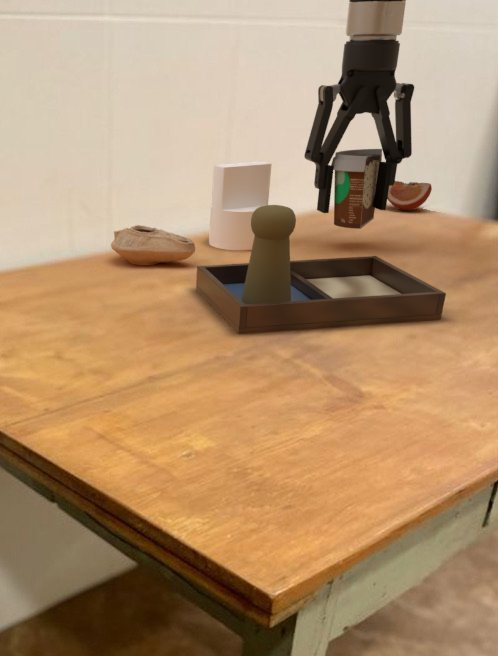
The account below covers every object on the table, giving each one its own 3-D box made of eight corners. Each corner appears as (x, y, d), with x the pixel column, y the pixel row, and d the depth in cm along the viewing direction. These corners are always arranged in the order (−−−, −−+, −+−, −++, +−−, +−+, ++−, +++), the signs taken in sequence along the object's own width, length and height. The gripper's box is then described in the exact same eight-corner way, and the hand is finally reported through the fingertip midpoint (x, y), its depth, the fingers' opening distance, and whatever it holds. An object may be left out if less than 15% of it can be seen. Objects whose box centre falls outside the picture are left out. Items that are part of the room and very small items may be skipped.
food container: (336, 216, 131) (342, 148, 127) (375, 217, 129) (382, 148, 124) (316, 228, 122) (322, 156, 117) (358, 230, 119) (365, 156, 115)
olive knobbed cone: (280, 310, 97) (290, 213, 91) (233, 303, 99) (240, 208, 93) (298, 297, 101) (308, 204, 95) (252, 290, 104) (259, 199, 98)
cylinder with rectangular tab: (245, 236, 135) (251, 158, 128) (276, 248, 128) (284, 166, 121) (198, 242, 131) (202, 162, 125) (227, 254, 124) (233, 170, 118)
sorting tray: (371, 281, 111) (375, 255, 109) (440, 322, 96) (446, 293, 94) (195, 292, 107) (196, 265, 105) (238, 337, 92) (240, 306, 90)
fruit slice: (376, 209, 153) (380, 181, 151) (390, 204, 158) (394, 176, 155) (419, 214, 149) (425, 185, 146) (432, 209, 154) (437, 180, 151)
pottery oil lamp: (183, 273, 114) (161, 229, 110) (119, 289, 122) (96, 248, 118) (208, 239, 118) (187, 195, 114) (145, 256, 126) (123, 215, 122)
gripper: (429, 37, 118) (403, 202, 129) (290, 39, 114) (276, 209, 126) (457, 37, 112) (427, 211, 123) (310, 39, 108) (294, 218, 120)
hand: (351, 209), depth 125 cm, fingers closed on food container, 9 cm apart
